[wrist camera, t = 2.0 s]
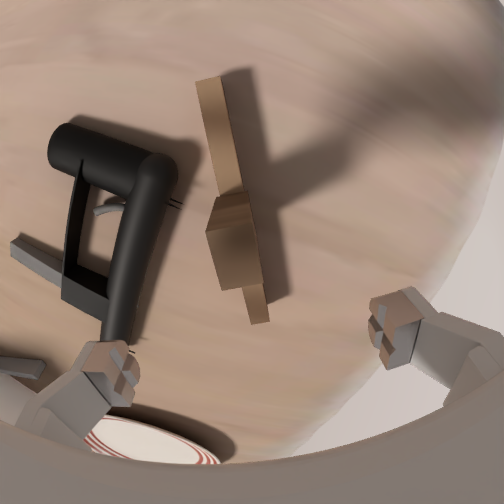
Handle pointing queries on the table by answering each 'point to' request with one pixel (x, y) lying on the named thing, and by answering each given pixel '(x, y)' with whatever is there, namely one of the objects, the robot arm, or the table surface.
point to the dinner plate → (145, 443)
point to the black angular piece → (132, 221)
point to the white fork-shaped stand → (12, 398)
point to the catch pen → (21, 367)
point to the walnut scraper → (231, 207)
